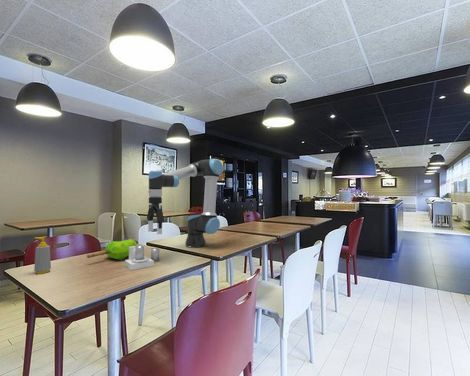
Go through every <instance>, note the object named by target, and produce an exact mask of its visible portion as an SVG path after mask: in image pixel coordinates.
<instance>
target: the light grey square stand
mask: <svg viewBox="0 0 470 376" xmlns="http://www.w3.org/2000/svg"><path fill="white" fill-rule="evenodd" d="M142 245H143V246H144V247H145V245H144V244H142ZM124 266H125V267H126V268H127V269H129V270H130V271H134V270H141V269H145V268H151V267H154V266H155V263H154V260H152V259H151V257H150V258H149V256H144V259H143V260H135V246H132V247H129V256H128V259H124Z"/></svg>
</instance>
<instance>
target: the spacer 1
mask: <svg viewBox="0 0 470 376" xmlns="http://www.w3.org/2000/svg"><path fill="white" fill-rule="evenodd" d="M143 245H144V244H140V245H137V246H135V260H143V259H144V257H145V245H144V246H143Z"/></svg>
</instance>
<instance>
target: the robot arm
mask: <svg viewBox="0 0 470 376" xmlns="http://www.w3.org/2000/svg"><path fill="white" fill-rule="evenodd" d="M223 172H224V165H223V163H222V162H221V160H220V159H218V158H209V159H201V160H199V161H195V162H193V163H190V164H188V166H185V167H182V168H178V169H175V170H174V169H173V170H172V171H169V172H164V173H163V171H161V170H150V171H149V173H148V191H147V193H148V196H149V197H148V210H147V215H146V216H147V217H146V220H147V221H148V224H147V227H148V229H147V231H148V232H149V233H150V232H153V231H154V217H155V216H156V235H162V234H163V223H164V222H165V219H164V212H163V206H162V203H163V198H162V196H163V188H177V187H178V186H179V184H180V181H181V180H184V179H187V178H190V177H192V178H193V177H197V176H203V178H204V179H205V180H204V182H205V183H204V195H203V209H202V210H203V212H202V213H200V214H192V215H188V216H187V236H186V239H185V243H184V244H185V245H186V246H191V247H190V248H193V247H194V248H199V247H198V246H203V247H205V246H206V240H205V237H204V234H207V235H212V234H213V235H214V234H215V233H217V232H218V231H219V228H220V226H221V222H220V219H219V218H218V215H217V213H216V206H217V205H216V203H217V202H216V201H217V190H218V189H217V188H218V180H220V175H221V174H222V173H223ZM185 245H184V246H185ZM204 245H205V246H204ZM186 246H185V247H186Z"/></svg>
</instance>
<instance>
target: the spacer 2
mask: <svg viewBox="0 0 470 376" xmlns="http://www.w3.org/2000/svg"><path fill="white" fill-rule="evenodd" d="M150 254H151V255H150V259H152V260H154V262H155V263H156V262H159V261H160V248H159V247H153V248H151V250H150Z"/></svg>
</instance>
